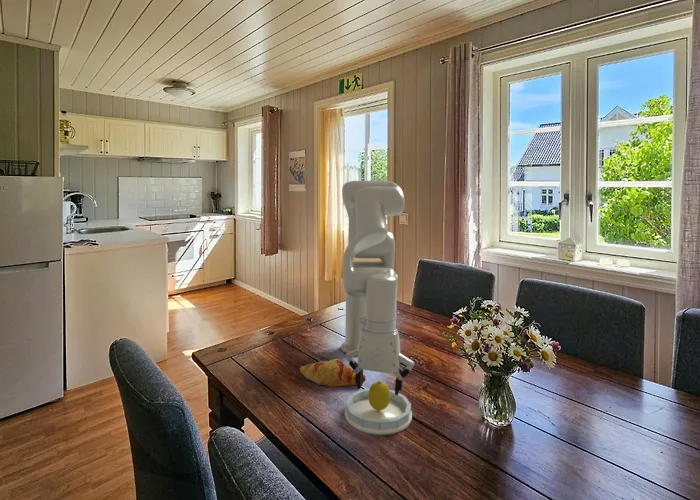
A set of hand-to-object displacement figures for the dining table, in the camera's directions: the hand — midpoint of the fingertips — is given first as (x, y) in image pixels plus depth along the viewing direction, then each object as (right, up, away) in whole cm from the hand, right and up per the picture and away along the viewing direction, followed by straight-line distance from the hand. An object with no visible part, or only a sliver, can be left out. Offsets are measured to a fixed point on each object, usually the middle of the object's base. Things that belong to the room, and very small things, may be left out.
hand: (378, 389), depth 103 cm
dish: (0, -7, +1) cm, 7 cm away
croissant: (-13, -4, +19) cm, 23 cm away
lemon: (0, -6, +1) cm, 6 cm away
